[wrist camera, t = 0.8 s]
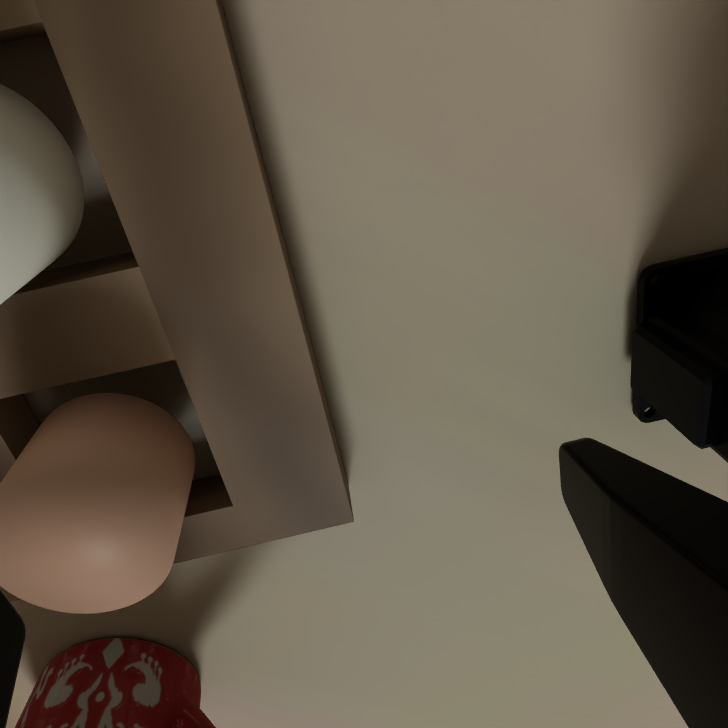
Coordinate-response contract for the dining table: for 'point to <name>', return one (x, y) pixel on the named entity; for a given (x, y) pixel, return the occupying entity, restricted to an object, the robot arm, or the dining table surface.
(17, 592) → the button terracotta
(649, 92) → the dining table surface
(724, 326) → the robot arm
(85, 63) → the button board
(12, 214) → the button cream
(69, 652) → the mug
